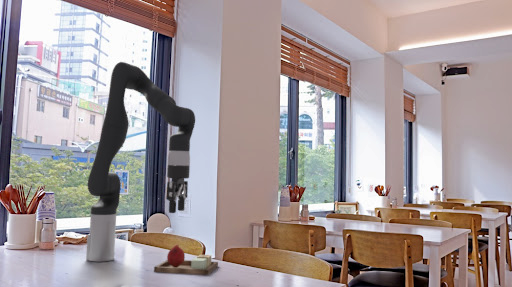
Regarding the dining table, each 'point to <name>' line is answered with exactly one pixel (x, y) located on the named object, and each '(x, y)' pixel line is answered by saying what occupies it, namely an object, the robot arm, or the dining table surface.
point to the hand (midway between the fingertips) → (176, 211)
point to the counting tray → (184, 268)
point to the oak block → (206, 258)
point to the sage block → (199, 263)
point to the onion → (176, 256)
